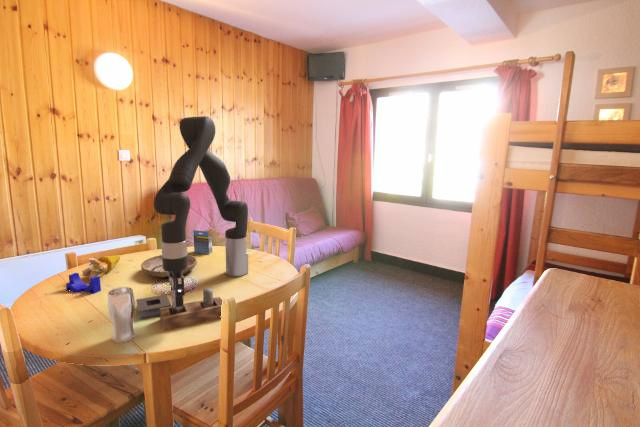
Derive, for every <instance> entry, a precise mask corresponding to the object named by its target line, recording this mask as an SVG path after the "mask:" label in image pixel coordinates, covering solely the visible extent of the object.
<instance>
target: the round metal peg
mask: <svg viewBox="0 0 640 427" xmlns="http://www.w3.org/2000/svg"><path fill="white" fill-rule="evenodd" d="M178 292H181V289H178ZM170 294H172V296H171V306H172V312H173V314H178V313H183V306H182V307H176V300H175V292H174V290H171V289H170Z"/></svg>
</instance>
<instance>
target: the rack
mask: <svg viewBox="0 0 640 427" xmlns="http://www.w3.org/2000/svg"><path fill="white" fill-rule="evenodd" d="M222 301H223V299H222V298H221V296H216V297H214V289H213V288H210V287H209V288H204V289H203V290H202V299H200V300H195V301H191V302H185V303H183V313H178V314H173V312H172V305H171V306H169V307H164V308H160V316H159V319H160V323H161V326H162V329H163V331H168V330H171V329H176V328H181V327H186V326H190V325H194V324H198V323H202V322H208V321H211V319H212V320H216V318H217V319H220V316H221V305H222ZM207 320H208V321H207Z"/></svg>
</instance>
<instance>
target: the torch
mask: <svg viewBox="0 0 640 427" xmlns="http://www.w3.org/2000/svg"><path fill="white" fill-rule="evenodd" d="M87 260H88V261H89V262H90V263H89V265H87V266H86V267H87V268H86V269H83V270H82V277H88V280H90V279H91V278H93V277H96V276H99V277H100V278H101V277H103V275H104V274H109V273H110V272H111V270H113V268H115V266H116V265H117V264H118V263H119V262H120V260H121V255H119V254H113V255H106V256H101V257H99V258H97V259H96V258H95V257H90V258H87Z"/></svg>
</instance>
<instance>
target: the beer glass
mask: <svg viewBox="0 0 640 427" xmlns="http://www.w3.org/2000/svg"><path fill="white" fill-rule="evenodd" d="M135 302H136V300H135V295H134V289H133V287H131V286H130V287H129V286H121V287H120V286H119V287H116V288H112V289H110V290H109V291H108V292H107V309H108V310H107V312H108V315H109V319H110V321H111V325H112V328H113V332H112V333H113V334H112V341H113V342H114V343H117V344H122V343H127V342H130V341H132V340H133V339H135V337H136V332H135V328H134V317H135V306H136V303H135Z"/></svg>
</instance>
